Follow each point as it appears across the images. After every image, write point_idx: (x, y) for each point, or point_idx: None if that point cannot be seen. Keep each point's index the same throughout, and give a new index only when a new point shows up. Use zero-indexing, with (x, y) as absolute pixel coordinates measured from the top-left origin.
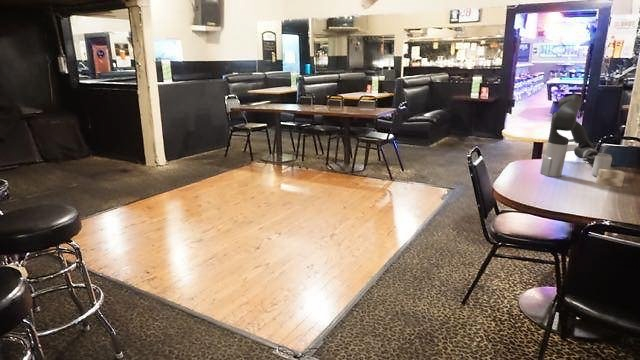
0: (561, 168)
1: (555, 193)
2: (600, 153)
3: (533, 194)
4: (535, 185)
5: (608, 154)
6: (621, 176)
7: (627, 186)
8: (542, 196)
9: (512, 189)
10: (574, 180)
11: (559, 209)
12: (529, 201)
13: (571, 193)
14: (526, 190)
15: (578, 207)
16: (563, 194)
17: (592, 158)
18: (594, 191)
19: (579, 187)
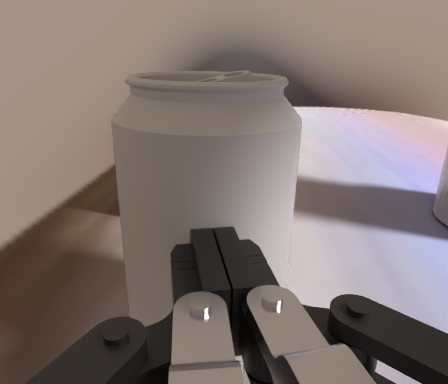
0: (445, 158)
1: (343, 131)
2: (252, 82)
3: (379, 123)
4: (420, 144)
5: (147, 80)
6: None
7: (86, 209)
8: (357, 122)
9: (435, 126)
10: (345, 198)
11: (306, 109)
12: (363, 112)
13: (309, 136)
14: (408, 128)
15: None
16: (324, 131)
17: (369, 307)
18: None
19: (301, 159)
